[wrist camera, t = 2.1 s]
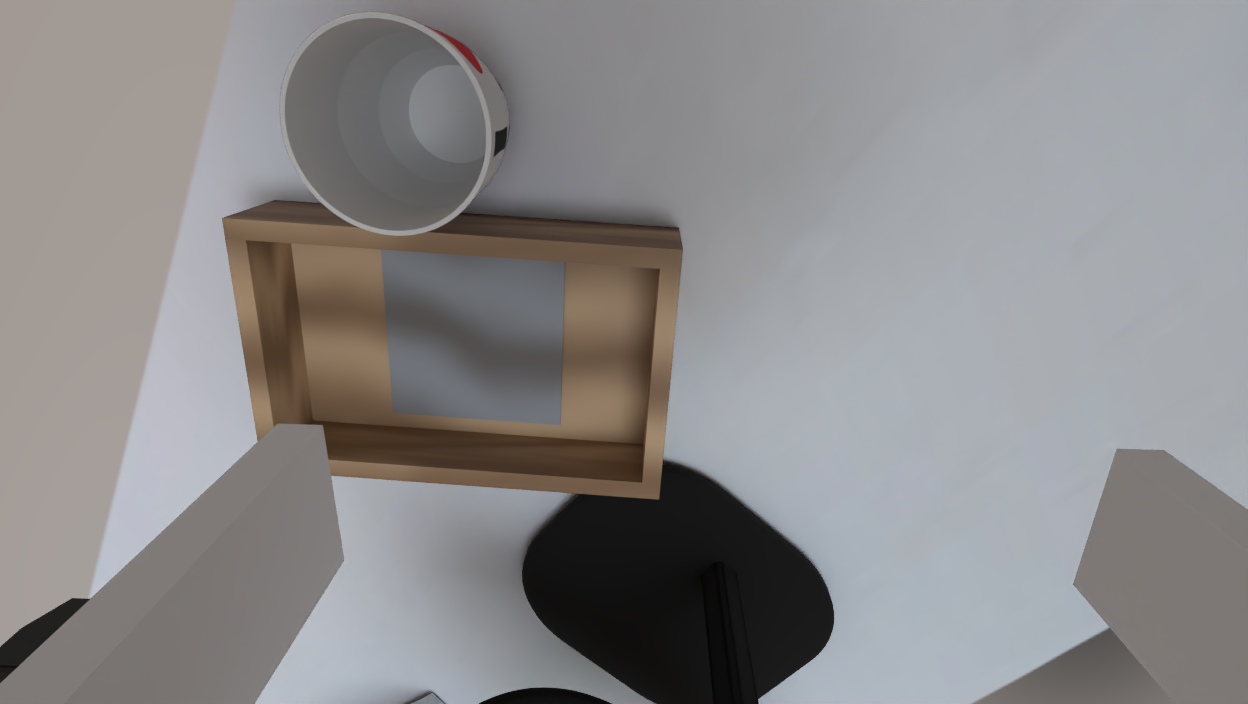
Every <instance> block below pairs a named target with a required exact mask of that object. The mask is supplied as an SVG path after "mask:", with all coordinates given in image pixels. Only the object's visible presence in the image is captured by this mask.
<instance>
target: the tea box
mask: <svg viewBox="0 0 1248 704" xmlns="http://www.w3.org/2000/svg"><path fill="white" fill-rule="evenodd" d="M410 704H444V703H443V702H442V701H441V700H440V699H438V698H437V697H436V696H435V695H434V694H433V693H430V694H429V695H427V696H426V697H424V698H422V699H420V700H418V701H416V702H413V703H410Z"/></svg>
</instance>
